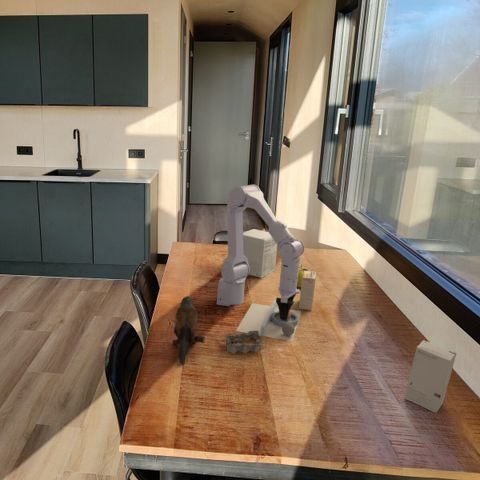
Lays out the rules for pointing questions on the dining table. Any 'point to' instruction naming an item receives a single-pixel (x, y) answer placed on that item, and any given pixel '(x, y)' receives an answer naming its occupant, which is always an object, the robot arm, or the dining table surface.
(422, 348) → the skincare box
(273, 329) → the board
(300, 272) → the lemon
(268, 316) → the fence
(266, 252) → the supplement box
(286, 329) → the grey ball
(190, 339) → the bird figurine
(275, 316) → the dish
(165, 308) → the dining table surface
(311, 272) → the supplement box
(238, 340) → the egg carton
